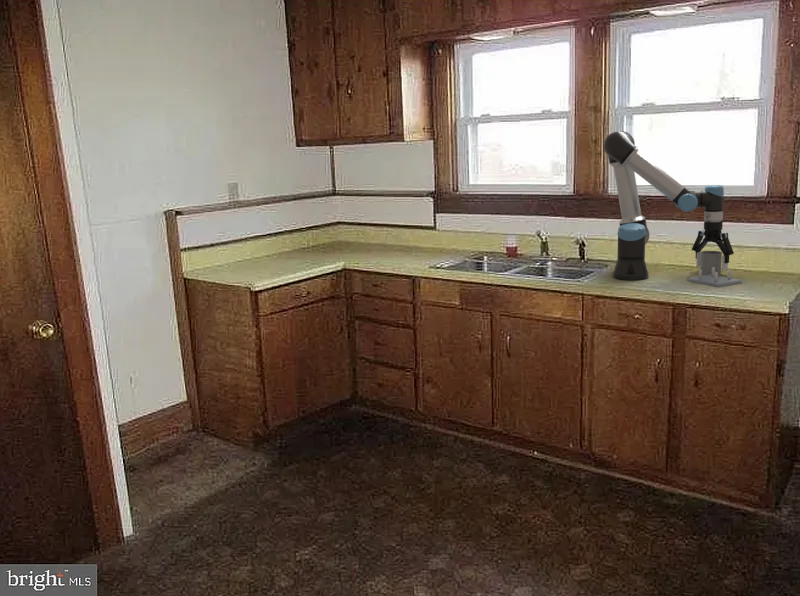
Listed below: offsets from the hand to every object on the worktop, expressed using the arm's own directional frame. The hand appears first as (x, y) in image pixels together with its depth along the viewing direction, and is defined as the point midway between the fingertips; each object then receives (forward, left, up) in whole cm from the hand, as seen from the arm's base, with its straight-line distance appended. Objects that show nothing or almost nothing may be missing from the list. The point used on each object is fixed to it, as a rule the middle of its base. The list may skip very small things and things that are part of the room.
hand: (711, 268), depth 316 cm
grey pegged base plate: (+12, -12, -3) cm, 17 cm away
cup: (0, 0, -3) cm, 3 cm away
